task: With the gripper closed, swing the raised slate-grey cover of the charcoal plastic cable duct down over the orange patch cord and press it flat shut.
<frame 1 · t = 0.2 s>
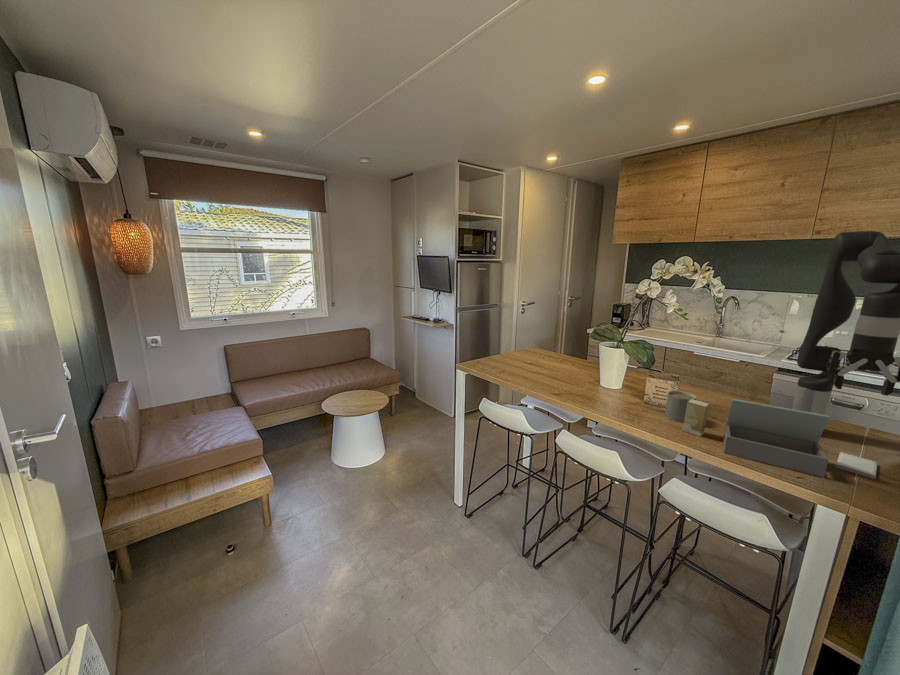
hand: (860, 391, 96), 29 cm above the worktop, fingers open, 8 cm apart
coffee mug: (680, 416, 149), on the worktop
skincare box: (693, 432, 135), on the worktop
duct: (768, 456, 118), on the worktop
duct cover: (773, 419, 119), point 12 cm above the worktop, hinge at 65.0°, touching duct
hard drive: (855, 468, 113), on the worktop
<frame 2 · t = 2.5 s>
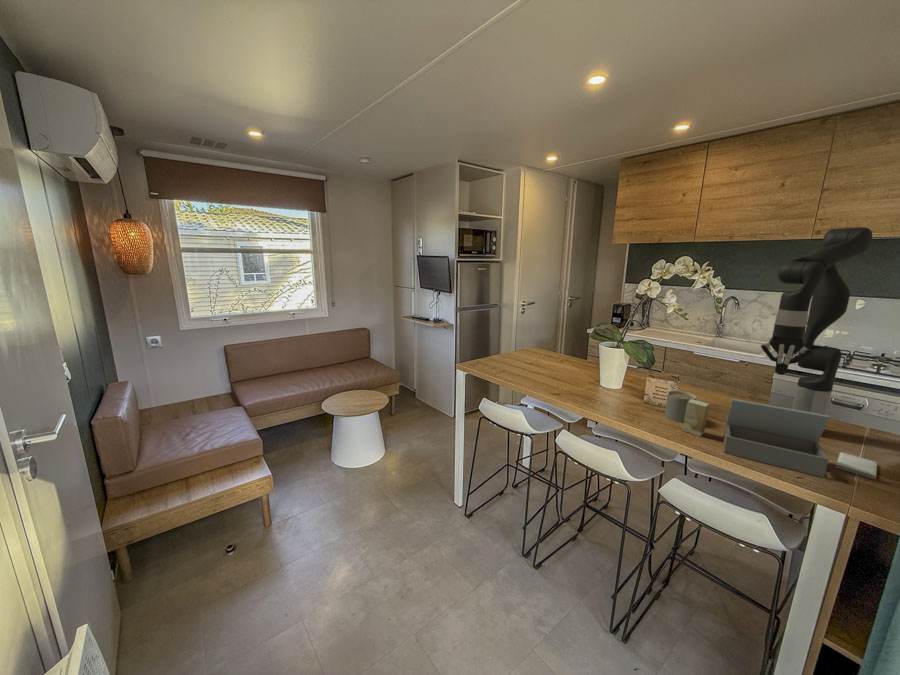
hand: (780, 374, 120), 26 cm above the worktop, fingers closed
nothing on the worktop moved.
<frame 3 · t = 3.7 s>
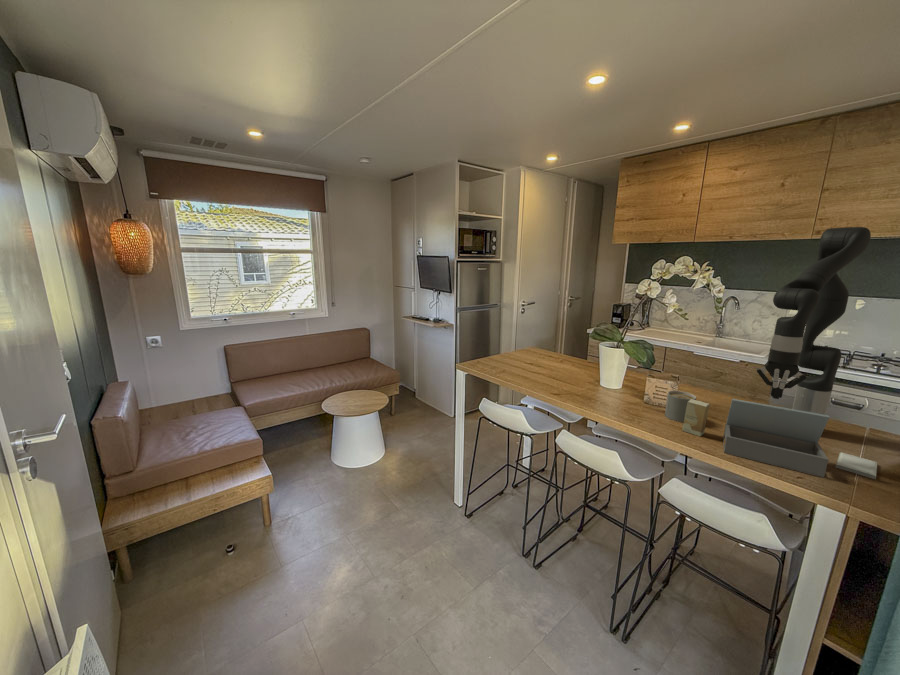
hand: (775, 398, 121), 18 cm above the worktop, fingers closed
nothing on the worktop moved.
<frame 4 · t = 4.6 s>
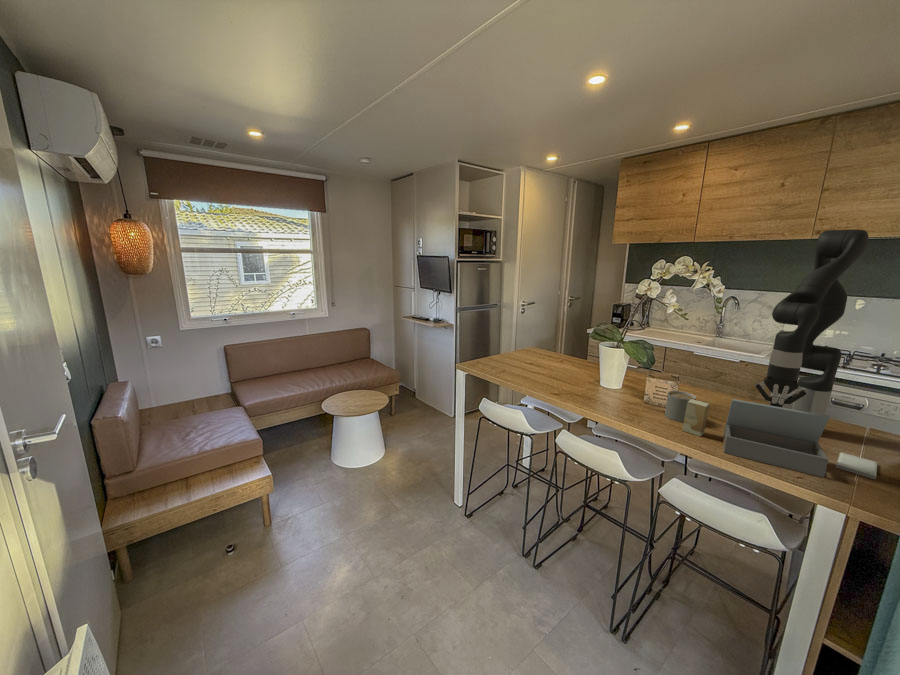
hand: (774, 413, 118), 14 cm above the worktop, fingers closed
duct cover: (773, 419, 119), point 12 cm above the worktop, hinge at 64.4°, touching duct, gripper
everything else where it was.
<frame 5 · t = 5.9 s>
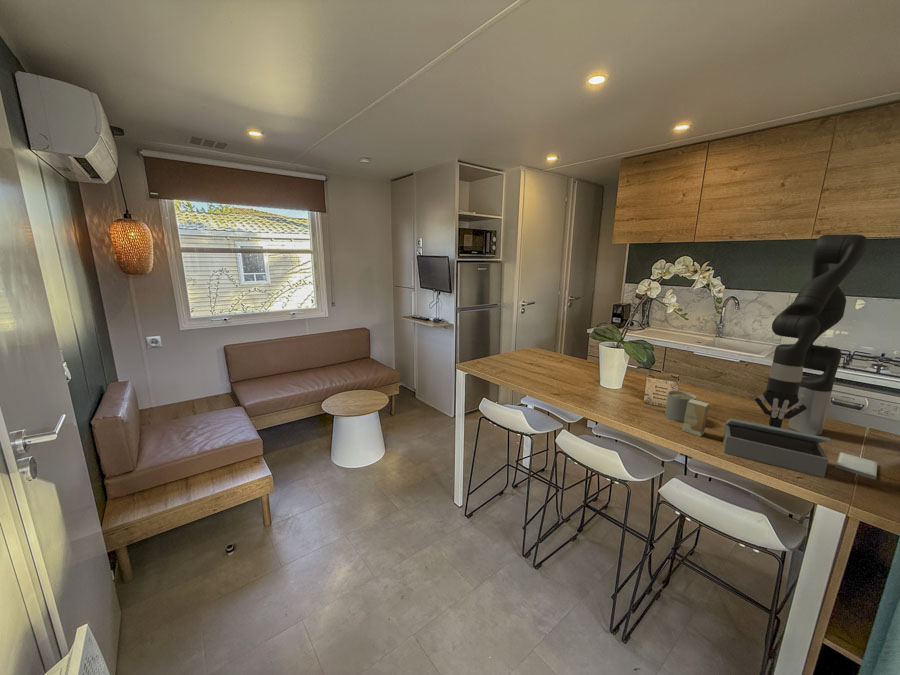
hand: (774, 428, 116), 10 cm above the worktop, fingers closed
duct cover: (773, 429, 117), point 9 cm above the worktop, hinge at 26.8°, touching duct, gripper
everything else where it was.
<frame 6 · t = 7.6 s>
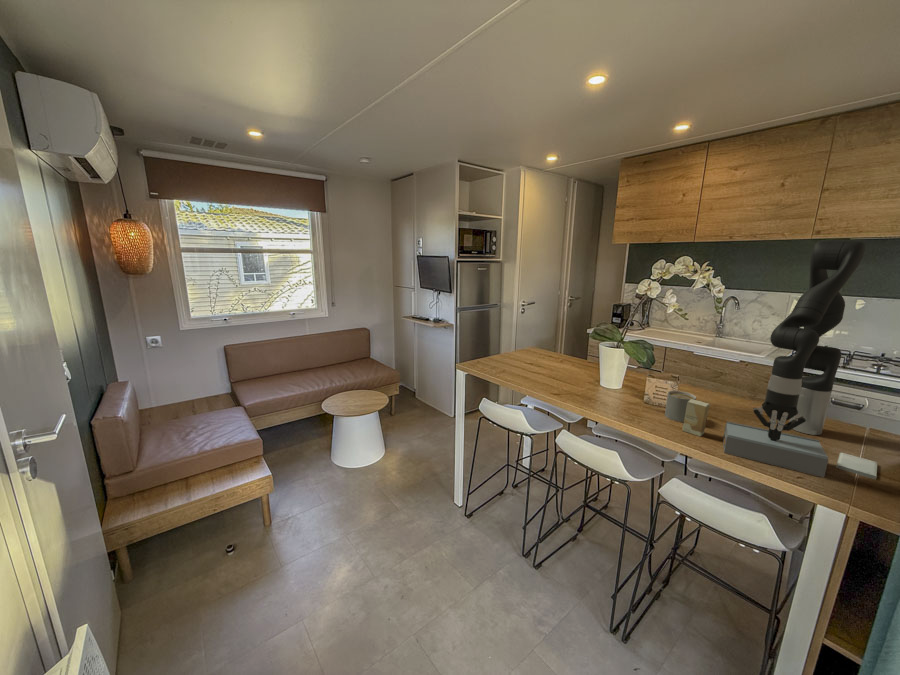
hand: (773, 439, 115), 7 cm above the worktop, fingers closed
duct cover: (772, 438, 117), point 7 cm above the worktop, hinge at -0.1°, touching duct, gripper
everything else where it was.
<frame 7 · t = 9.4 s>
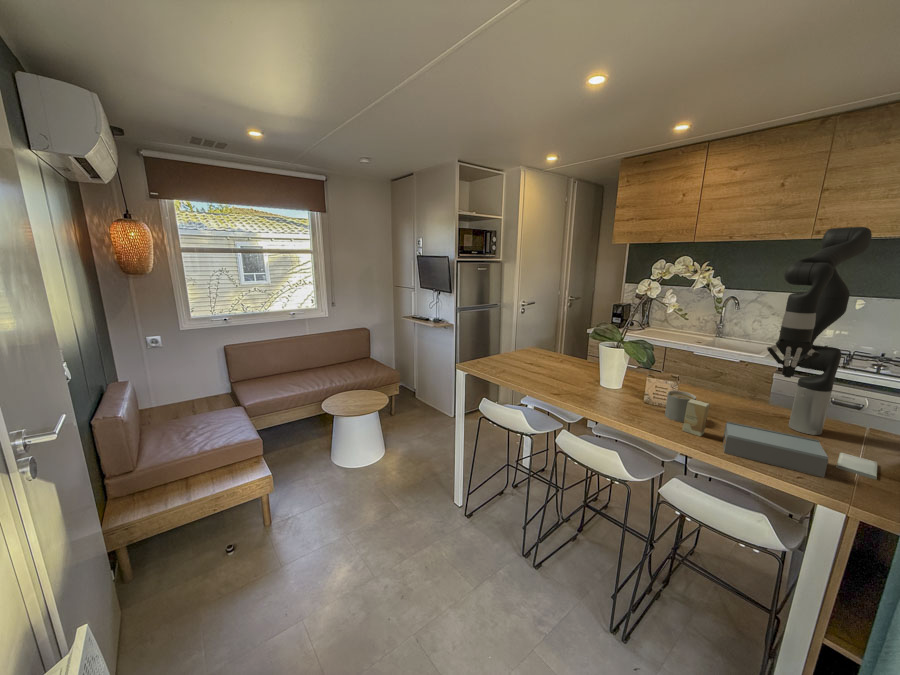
hand: (787, 376, 118), 26 cm above the worktop, fingers closed
duct cover: (772, 438, 117), point 7 cm above the worktop, hinge at -0.1°, touching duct
everything else where it was.
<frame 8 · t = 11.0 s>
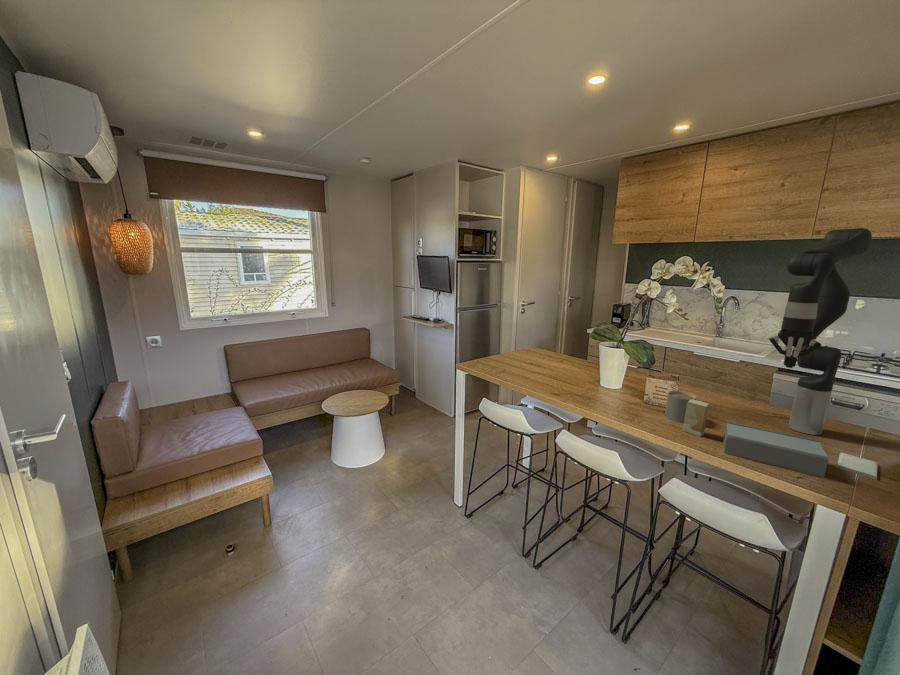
hand: (788, 367, 119), 29 cm above the worktop, fingers closed
nothing on the worktop moved.
at the end: duct cover at +0° (first picture: +65°) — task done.
